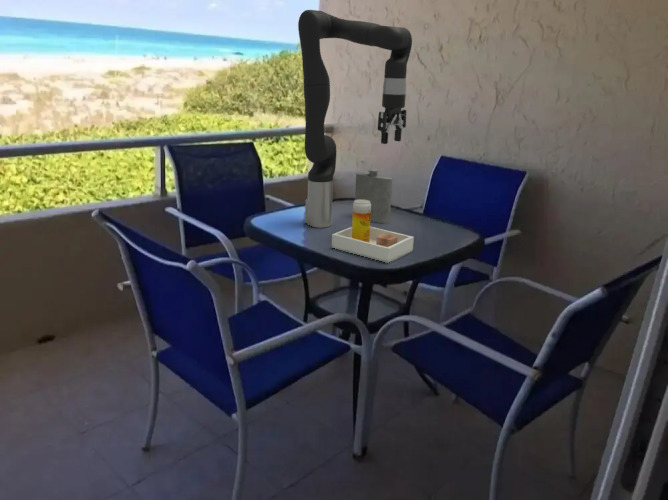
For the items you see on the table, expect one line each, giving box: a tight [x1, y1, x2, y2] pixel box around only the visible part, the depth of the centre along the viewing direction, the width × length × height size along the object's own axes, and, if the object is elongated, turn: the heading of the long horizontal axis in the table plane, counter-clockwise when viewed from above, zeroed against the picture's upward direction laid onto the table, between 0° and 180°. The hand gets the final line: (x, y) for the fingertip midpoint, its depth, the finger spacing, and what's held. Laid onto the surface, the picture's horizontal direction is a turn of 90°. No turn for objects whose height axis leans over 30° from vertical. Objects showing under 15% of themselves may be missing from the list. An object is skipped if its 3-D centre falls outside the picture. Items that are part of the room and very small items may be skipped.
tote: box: [331, 226, 415, 264], centre depth 194 cm, size 22×16×5 cm
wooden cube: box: [376, 234, 398, 247], centre depth 190 cm, size 5×5×5 cm
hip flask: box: [354, 168, 393, 225], centre depth 225 cm, size 16×4×20 cm, turn 54°
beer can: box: [351, 199, 371, 242], centre depth 194 cm, size 6×6×15 cm
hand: (391, 142), depth 195 cm, fingers open, 8 cm apart
